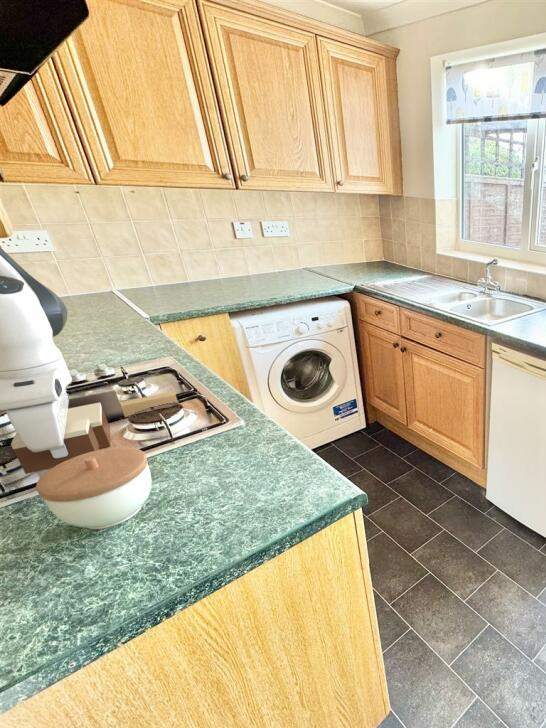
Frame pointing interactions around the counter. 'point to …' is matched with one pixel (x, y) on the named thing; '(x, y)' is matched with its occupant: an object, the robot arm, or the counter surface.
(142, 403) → the cleaver
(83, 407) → the cake
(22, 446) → the cake slice
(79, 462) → the lidded bowl
